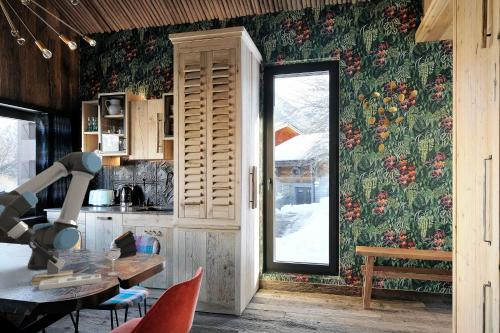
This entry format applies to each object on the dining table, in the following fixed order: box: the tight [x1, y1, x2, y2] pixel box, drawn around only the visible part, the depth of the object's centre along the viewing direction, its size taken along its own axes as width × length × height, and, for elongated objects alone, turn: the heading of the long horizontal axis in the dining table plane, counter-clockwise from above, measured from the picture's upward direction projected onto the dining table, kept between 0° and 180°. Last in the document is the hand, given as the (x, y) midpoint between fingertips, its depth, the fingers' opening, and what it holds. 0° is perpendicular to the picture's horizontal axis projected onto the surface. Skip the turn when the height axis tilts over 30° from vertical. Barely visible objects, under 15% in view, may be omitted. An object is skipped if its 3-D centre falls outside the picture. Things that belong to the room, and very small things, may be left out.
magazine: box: [113, 230, 138, 259], centre depth 200 cm, size 4×13×15 cm, turn 139°
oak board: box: [30, 269, 74, 287], centre depth 156 cm, size 16×16×1 cm
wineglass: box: [105, 247, 121, 276], centre depth 165 cm, size 7×7×12 cm
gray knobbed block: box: [46, 249, 60, 275], centre depth 156 cm, size 4×4×11 cm
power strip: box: [38, 273, 102, 291], centre depth 148 cm, size 7×24×3 cm, turn 117°
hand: (62, 265), depth 157 cm, fingers closed on gray knobbed block, 4 cm apart
